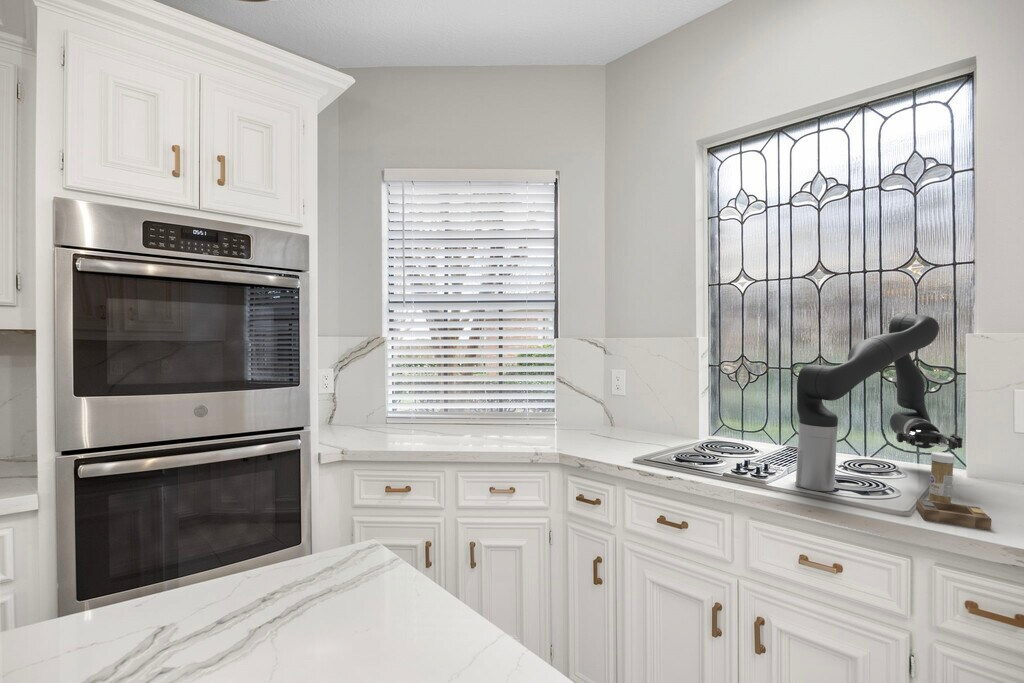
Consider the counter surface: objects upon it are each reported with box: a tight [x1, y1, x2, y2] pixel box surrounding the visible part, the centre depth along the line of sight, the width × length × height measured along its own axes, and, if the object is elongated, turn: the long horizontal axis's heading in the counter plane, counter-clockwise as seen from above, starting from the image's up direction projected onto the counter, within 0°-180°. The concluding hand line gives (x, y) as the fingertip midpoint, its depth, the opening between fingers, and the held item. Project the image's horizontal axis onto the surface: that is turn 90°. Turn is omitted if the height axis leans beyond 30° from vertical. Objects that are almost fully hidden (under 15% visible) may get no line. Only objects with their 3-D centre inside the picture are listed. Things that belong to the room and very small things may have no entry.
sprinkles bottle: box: [928, 451, 955, 503], centre depth 137 cm, size 5×5×14 cm
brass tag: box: [970, 508, 986, 515], centre depth 127 cm, size 2×3×1 cm, turn 153°
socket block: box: [915, 498, 992, 531], centre depth 129 cm, size 12×9×2 cm
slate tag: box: [921, 501, 935, 507], centre depth 131 cm, size 2×3×1 cm, turn 153°
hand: (933, 443), depth 147 cm, fingers open, 8 cm apart
